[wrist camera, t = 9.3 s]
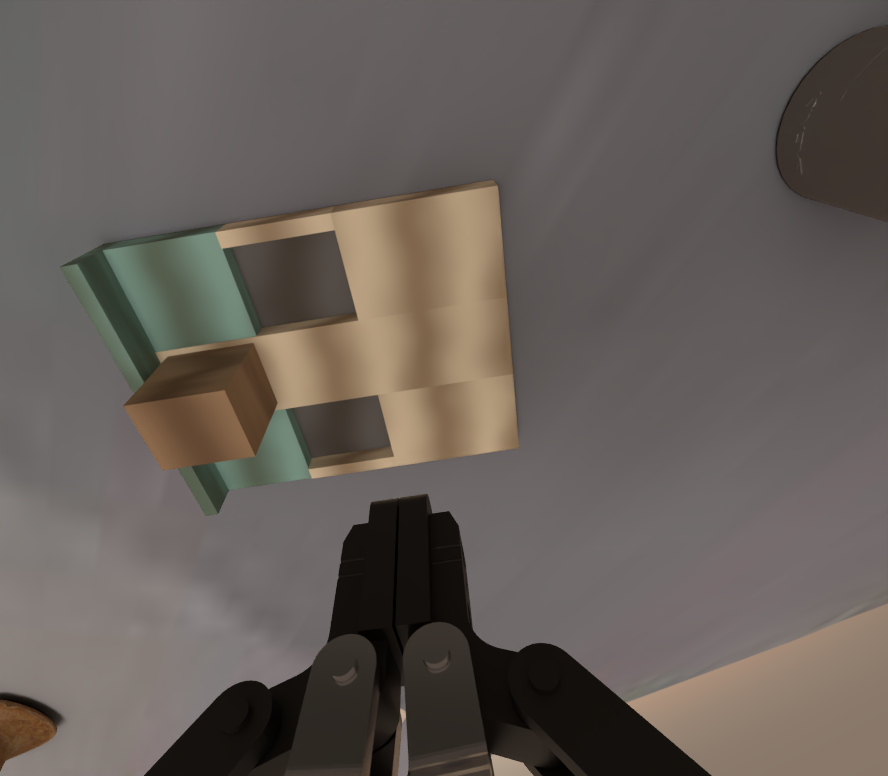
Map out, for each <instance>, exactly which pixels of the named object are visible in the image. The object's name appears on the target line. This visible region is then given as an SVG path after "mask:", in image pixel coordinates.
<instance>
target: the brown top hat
mask: <svg viewBox="0 0 888 776" xmlns="http://www.w3.org/2000/svg"><path fill="white" fill-rule="evenodd" d="M56 732H57V727H56V725H55V724H54V722H53V721H52V720H51V719H50V718H48V717H47V716H45V715H44V714H43V713H41V712H39V711H37V710H35V709H33V708H30V707H27V706H25V705H22V704H19V703H15V702H11V701H7V700H0V771H1V769H2V766H3V764H4V763H5V761H6V760H8V759H10V758H13V757H15V756H18V755H20V754H22V753H24V752H27V751H29V750H32V749H34V748H36V747H38V746H40V745H42V744H44V743H46V742H48V741H49V740H50V739H52V738H53V737H54V735H55V734H56Z"/></svg>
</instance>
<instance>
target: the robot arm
mask: <svg viewBox="0 0 888 776" xmlns="http://www.w3.org/2000/svg"><path fill="white" fill-rule="evenodd" d="M777 159H778V166H779V169H780V172H781V174H782V177H783V179H784V180H785V182H786V183H787V184H788V186H789V187H790V188H791V189H792V190H793V191H795V192H796V193H798V194H799V195H800V196H803V197H806V198H809V199H812V200H815V201H819V202H822V203H825V204H829V205H832V206H835V207H839V208H842V209H845V210H849V211H851V212H854V213H858V214H861V215H865V216H868V217H872V218H875V219H878V220H882V221H885V222H888V26H884V27H877V28H872V29H870V30H867V31H865V32H862V33H859V34H857V35H854V36H853V37H851V38H850V39H848V40H846V41H845V42H843V43H841V44H840V45H838V46H837V47H835V48H834V49H833V50H832V51H831V52H829V53H828V54H827V55H826V56H825V57H824V58H822V59H821V60H820V61H819V62H818V63H817V64H816V65H815V67H814V68H813V69H812V70H811V71H810V72H809V73H808V75H807V76H806V77H805V78H804V80H803V81H802V83H801V84H800V86H799V87H798V89H797V90H796V92H795V93H794V95H793V96H792V98H791V100H790V103H789V105H788V107H787V109H786V111H785V113H784V116H783V119H782V123H781V126H780V129H779V133H778V142H777ZM338 576H339V579H338V581H337V588H336V594H335V601H334V607H333V614H332V620H331V627H330V634H329V638H328V641H327V644H326V645H325V646H324V647H323V648H322V649H321V650H320V651H319V653H318V654H317V656H316V658H315V660H314V662H313V664H312V665H311V666H310V667H309V668H308V669H306V670H305V671H304V672H302V673H300V674H299V675H297V676H295V677H293V678H291V679H289V680H287V681H285V682H282V683H280V684H278V685H276V686H274V687H272V688H270V689H268V688H267V687H266V686H265V685H264V684H262V683H260V682H257V681H244V682H240V683H238V684H235V685H233V686H231V687H230V688H228V689H227V690H225V691H224V692H223V693H222V694H221V695H220V696H218V697H217V698H216V700H215V701H214V702H213V703H212V704H211V705H210V706H209V707H208V708H207V709H206V710H205V711H204V712H203V713H202V714H201V715H200V717H199V718H198V719H197V720H196V721H195V722H194V723H193V724H192V725H191V726H190V727H189V728H188V729H187V730H186V731H185V732H184V734H183V735H182V736H181V737H180V738H179V739H178V740H177V741H176V742H175V743H174V744H173V745H172V746H171V747H170V748H169V749H168V751H167V752H166V753H165V754H164V755H163V756H162V757H161V758H160V759H159V760H158V761H157V762H156V763H155V764H154V765H153V766H152V768H151V769H150V770H149V771H148V772H147V773H146V774H145V775H144V776H398V767H399V755H400V743H401V731H402V718H401V714H400V695H401V686H404V688H405V706H406V724H407V742H408V760H409V770H408V775H407V776H494V771H493V765H492V759H491V754H495V755H498V756H502V757H505V758H509V759H512V760H516V761H519V762H523V763H524V764H525V766H526V767H527V768H528V770H529V771H530V772H531V773H532V774H533V775H534V776H711V775H710V774H709V773H708V772H707V771H705V770H704V769H703V768H702V767H701V766H700V765H698V764H697V763H696V762H695V761H694V760H693V759H691V758H690V757H689V756H688V755H687V754H685V753H684V752H683V751H682V750H681V749H679V748H678V747H677V746H676V745H675V744H674V743H673V742H671V741H670V740H669V739H668V738H667V737H665V736H664V735H663V734H662V733H661V732H660V731H658V730H657V729H656V728H655V727H654V726H652V725H651V724H650V723H649V722H648V721H647V720H645V719H644V718H643V717H642V716H640V715H639V714H638V713H637V712H636V711H635V710H634V709H632V708H631V707H630V706H629V705H628V704H627V703H625V702H624V701H623V700H622V699H621V698H620V697H618V696H617V695H616V694H615V693H614V692H612V691H611V690H610V689H609V688H608V687H607V686H605V685H604V684H603V683H602V682H601V681H599V680H598V679H597V678H596V677H595V676H594V675H592V674H591V673H590V672H589V671H588V670H587V669H585V668H584V667H583V666H582V665H581V664H579V663H578V662H577V661H576V660H575V659H574V658H572V657H571V656H570V655H569V654H568V653H566V652H565V651H564V650H562V649H561V648H559V647H557V646H554V645H551V644H546V643H536V644H531V645H529V646H526V647H525V648H523V649H521V650H520V651H519V652H514V651H510V650H505V649H500V648H497V647H493V646H491V645H489V644H487V643H485V642H484V641H482V640H481V639H480V638H479V637H478V636H477V635H476V634H475V632H474V631H473V627H472V618H471V608H470V599H469V590H468V582H467V572H466V563H465V557H464V552H463V547H462V541H461V536H460V531H459V526H458V524H457V523H456V521H455V520H454V518H453V517H452V515H451V513H450V512H449V511H447V512H440V513H433V514H432V510H431V505H430V501H429V497H428V494H423V495H416V496H409V497H402V498H400V499H399V498H396V499H390V500H383V501H376V502H372V503H371V505H370V513H369V522H368V523H365V524H358V525H353V527H352V529H351V530H350V532H349V534H348V535H347V537H346V539H345V540H344V542H343V548H342V555H341V564H340V568H339V575H338ZM490 753H491V754H490Z"/></svg>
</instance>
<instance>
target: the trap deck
mask: <svg viewBox="0 0 888 776" xmlns="http://www.w3.org/2000/svg"><path fill="white" fill-rule="evenodd" d="M60 268H61V270H62V272H63V273H64V275H65V277H66V278H67V280H68V282H69V284H70V285H71V287H72V289H73V290H74V292H75V294H76V295H77V297H78V299H79V301H80V302H81V304H82V306H83V307H84V309H85V311H86V313H87V314H88V316H89V318H90V319H91V321H92V323H93V324H94V326H95V328H96V330H97V331H98V333H99V335H100V336H101V338H102V340H103V342H104V343H105V345H106V347H107V348H108V350H109V352H110V353H111V355H112V357H113V359H114V360H115V362H116V364H117V365H118V367H119V369H120V371H121V372H122V374H123V376H124V377H125V379H126V381H127V383H128V384H129V386H130V388H131V389H132V391H133V393H134V394H135V392H136V391H137V390H138V389H139V388H140V387H141V386H142V385H143V383H144V382H145V381H146V380H147V379H148V378H149V377H150V376H151V375H152V373H153V372H154V371H155V370H156V369H157V368H158V367H159V366H160V364H161V363H162V362H163V361H164V360H165V359H166V358H167V357H168V356H174V355H180V354H187V353H193V352H199V351H205V350H212V349H218V348H224V347H231V346H237V345H243V344H249V343H254V345H255V348H256V350H257V353H258V355H259V358H260V360H261V363H262V365H263V368H264V370H265V373H266V375H267V378H268V380H269V383H270V385H271V388H272V390H273V393H274V395H275V398H276V400H277V402H278V404H277V406H276V409H275V411H274V413H273V416H272V418H271V420H270V423H269V425H268V428H267V430H266V432H265V435H264V437H263V439H262V442H261V444H260V447H259V449H258V451H257V454H256V456H255V457H248V458H242V459H235V460H228V461H222V462H215V463H209V464H202V465H195V466H189V467H182V468H178V470H179V471H180V473H181V475H182V476H183V478H184V480H185V481H186V483H187V485H188V487H189V488H190V490H191V492H192V493H193V495H194V497H195V499H196V500H197V502H198V504H199V505H200V507H201V509H202V511H203V512H204V514H205V516H207V515H214V514H218V513H219V511H220V509H221V506H222V504H223V502H224V500H225V498H226V495H227V493H228V491H229V490H233V489H240V488H247V487H253V486H260V485H267V484H274V483H280V482H287V481H294V480H301V479H307V478H312V479H313V478H320V477H326V476H333V475H340V474H347V473H353V472H360V471H367V470H374V469H380V468H387V467H394V466H401V465H407V464H414V463H421V462H427V461H434V460H441V459H448V458H454V457H461V456H468V455H475V454H481V453H488V452H495V451H502V450H508V449H515V448H519V442H518V430H517V417H516V405H515V392H514V380H513V367H512V355H511V343H510V330H509V318H508V305H507V293H506V280H505V268H504V255H503V243H502V230H501V218H500V205H499V193H498V185H497V184H496V183H495V181H494V180H489V181H483V182H476V183H470V184H464V185H458V186H452V187H446V188H440V189H434V190H428V191H422V192H416V193H410V194H404V195H398V196H392V197H386V198H380V199H374V200H368V201H362V202H356V203H350V204H344V205H338V206H332V207H326V208H320V209H314V210H307V211H301V212H295V213H289V214H283V215H277V216H271V217H265V218H259V219H253V220H247V221H241V222H235V223H229V224H223V225H217V226H211V227H205V228H199V229H193V230H187V231H181V232H175V233H169V234H163V235H157V236H151V237H145V238H138V239H132V240H126V241H120V242H114V243H108V244H103V245H101V246H99V247H97V248H95V249H93V250H91V251H90V252H88V253H86V254H84V255H82V256H80V257H78V258H76V259H74V260H72V261H70V262H68V263H67V264H65V265H63V266H61V267H60Z"/></svg>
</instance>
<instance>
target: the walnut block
mask: <svg viewBox="0 0 888 776" xmlns="http://www.w3.org/2000/svg"><path fill="white" fill-rule="evenodd" d="M277 404H278V402H277V400H276V398H275V395H274V393H273V390H272V388H271V385H270V383H269V380H268V378H267V375H266V373H265V370H264V368H263V365H262V363H261V360H260V358H259V355H258V353H257V350H256V348H255V345H254V343H249V344H243V345H237V346H231V347H224V348H218V349H212V350H205V351H199V352H193V353H187V354H180V355H174V356H168V357H167V358H166V359H165V360H164V361H163V362H162V363H161V364H160V366H159V367H158V368H157V369H156V370H155V371H154V372H153V373H152V375H151V376H150V377H149V378H148V379H147V380H146V381H145V382H144V383H143V385H142V386H141V387H140V388H139V389H138V390H137V391H136V392H135V394H134V395H133V396H132V397H131V398H130V399H129V400H128V401H127V402H126V404H125V405H124V408H125V410H126V411H127V413H128V415H129V416H130V418H131V420H132V421H133V423H134V424H135V426H136V428H137V429H138V431H139V433H140V434H141V436H142V438H143V439H144V441H145V442H146V444H147V446H148V447H149V449H150V451H151V452H152V454H153V455H154V457H155V459H156V460H157V462H158V464H159V465H160V467H161V469H162V470H169V469H176V468H182V467H189V466H195V465H202V464H209V463H215V462H222V461H228V460H235V459H242V458H248V457H255V456H256V454H257V451H258V449H259V447H260V444H261V442H262V439H263V437H264V435H265V432H266V430H267V428H268V425H269V423H270V420H271V418H272V416H273V413H274V411H275V409H276V406H277Z"/></svg>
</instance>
